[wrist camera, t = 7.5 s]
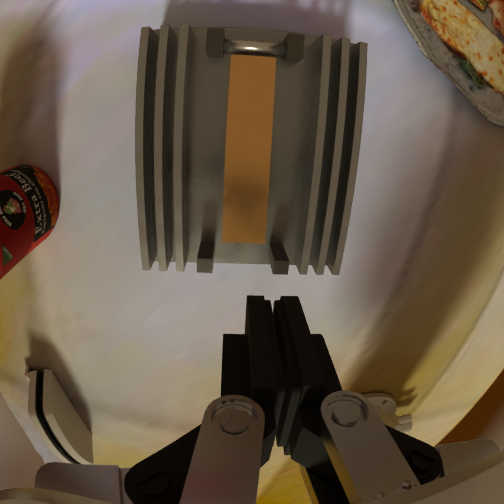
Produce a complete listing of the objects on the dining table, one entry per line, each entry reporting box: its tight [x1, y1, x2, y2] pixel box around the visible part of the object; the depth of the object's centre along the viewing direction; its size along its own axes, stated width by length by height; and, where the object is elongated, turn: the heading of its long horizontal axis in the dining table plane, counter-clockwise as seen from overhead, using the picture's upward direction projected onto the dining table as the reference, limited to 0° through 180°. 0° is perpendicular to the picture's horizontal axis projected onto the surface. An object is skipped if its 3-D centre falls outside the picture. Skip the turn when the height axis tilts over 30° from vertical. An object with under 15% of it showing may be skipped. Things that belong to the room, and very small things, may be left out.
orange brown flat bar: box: [222, 55, 276, 244], centre depth 18 cm, size 3×12×1 cm, turn 177°
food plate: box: [393, 0, 504, 127], centre depth 15 cm, size 25×23×4 cm
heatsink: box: [135, 24, 367, 275], centre depth 20 cm, size 14×17×6 cm
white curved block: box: [25, 366, 93, 465], centre depth 31 cm, size 17×5×10 cm, turn 0°
